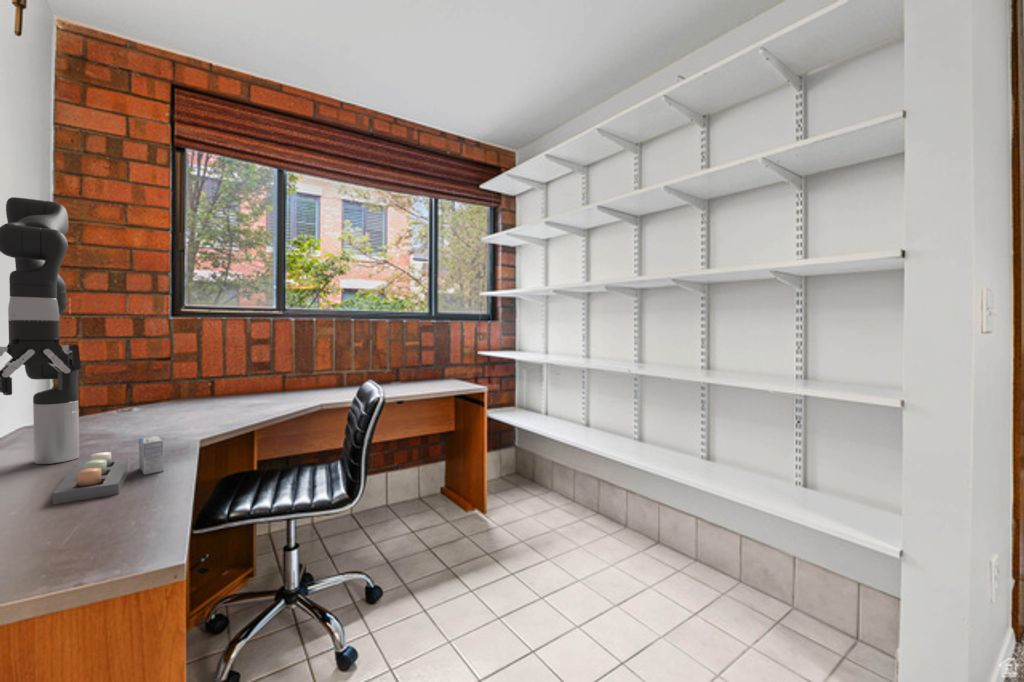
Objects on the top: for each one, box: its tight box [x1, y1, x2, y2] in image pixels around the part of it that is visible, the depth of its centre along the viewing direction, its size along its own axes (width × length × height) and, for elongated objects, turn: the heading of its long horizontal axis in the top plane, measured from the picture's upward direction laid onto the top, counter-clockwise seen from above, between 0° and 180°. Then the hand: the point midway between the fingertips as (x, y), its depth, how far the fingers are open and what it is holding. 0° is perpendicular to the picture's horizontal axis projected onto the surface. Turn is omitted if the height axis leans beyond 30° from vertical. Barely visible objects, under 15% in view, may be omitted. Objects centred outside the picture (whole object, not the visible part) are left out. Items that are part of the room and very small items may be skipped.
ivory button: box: [90, 451, 112, 466], centre depth 117 cm, size 4×4×3 cm
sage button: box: [84, 459, 107, 474], centre depth 111 cm, size 4×4×3 cm
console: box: [52, 458, 131, 505], centre depth 111 cm, size 24×11×2 cm, turn 36°
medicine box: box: [138, 435, 165, 475], centre depth 122 cm, size 8×4×9 cm, turn 47°
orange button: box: [78, 468, 101, 486], centre depth 104 cm, size 4×4×3 cm
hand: (35, 392), depth 96 cm, fingers open, 8 cm apart
